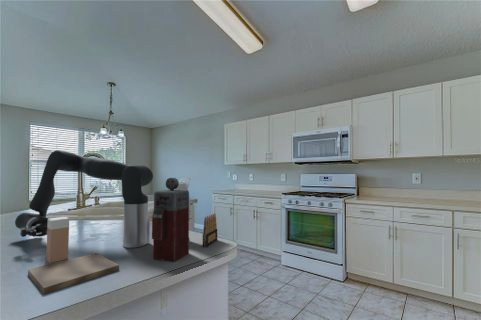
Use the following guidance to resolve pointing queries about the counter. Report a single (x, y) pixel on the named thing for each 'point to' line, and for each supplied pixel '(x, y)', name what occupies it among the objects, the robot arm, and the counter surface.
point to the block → (57, 239)
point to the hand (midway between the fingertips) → (49, 231)
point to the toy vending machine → (170, 223)
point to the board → (71, 272)
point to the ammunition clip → (209, 230)
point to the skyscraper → (184, 186)
